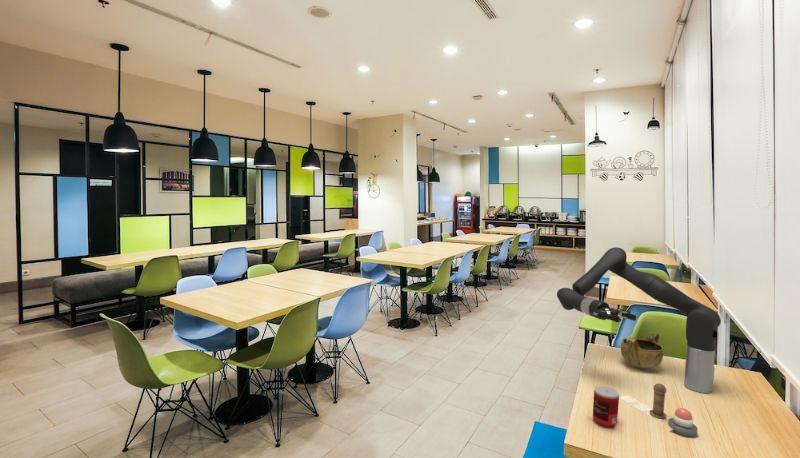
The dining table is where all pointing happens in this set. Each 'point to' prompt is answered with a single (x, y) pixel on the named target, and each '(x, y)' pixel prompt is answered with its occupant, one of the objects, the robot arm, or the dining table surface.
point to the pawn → (658, 402)
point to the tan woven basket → (642, 351)
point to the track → (638, 405)
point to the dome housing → (683, 429)
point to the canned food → (605, 406)
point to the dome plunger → (683, 418)
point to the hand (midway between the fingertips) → (627, 319)
